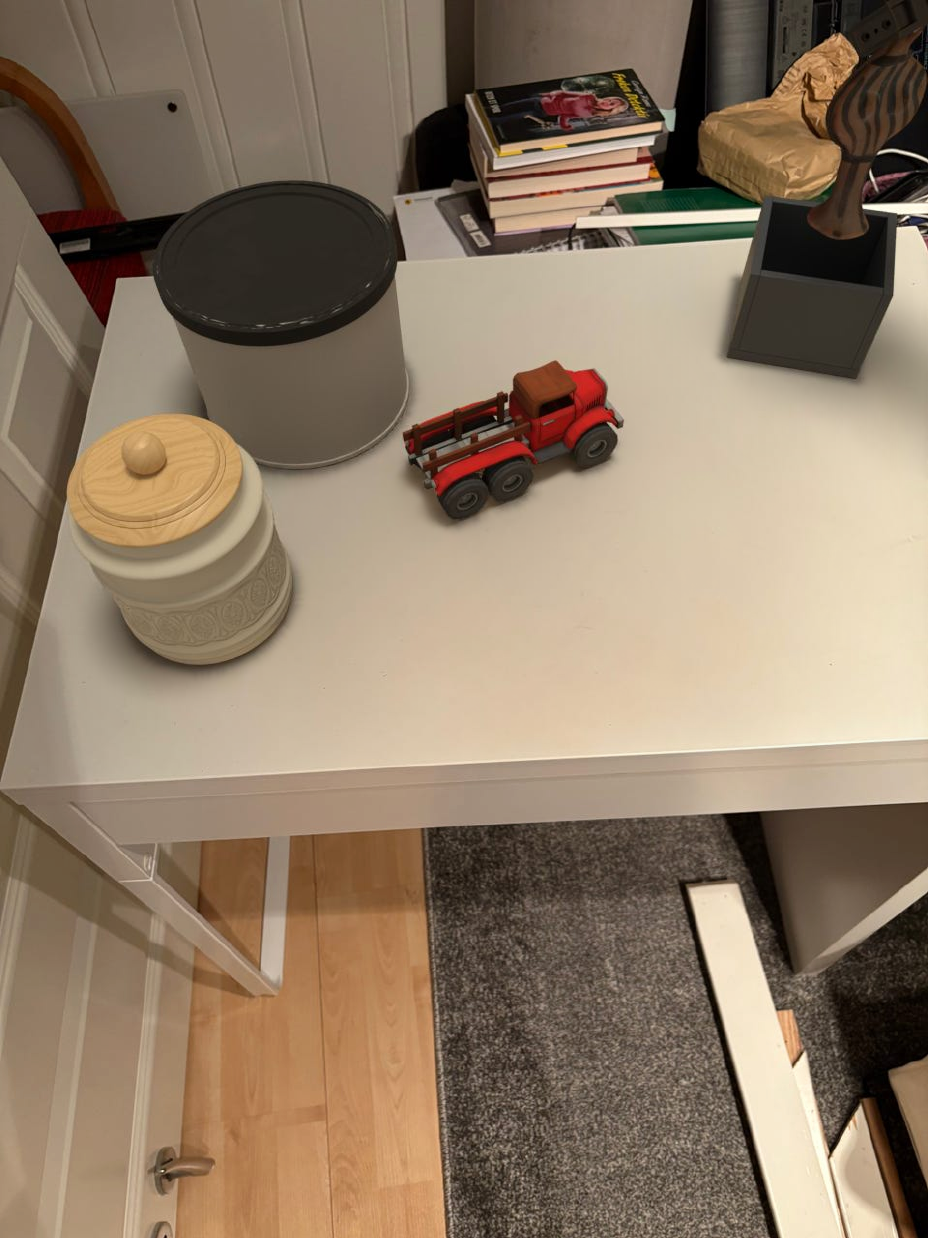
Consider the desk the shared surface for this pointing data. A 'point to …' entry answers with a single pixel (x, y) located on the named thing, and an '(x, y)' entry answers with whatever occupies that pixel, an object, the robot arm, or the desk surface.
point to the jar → (181, 537)
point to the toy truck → (513, 437)
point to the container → (289, 318)
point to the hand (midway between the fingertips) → (872, 31)
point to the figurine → (867, 129)
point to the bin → (813, 291)
